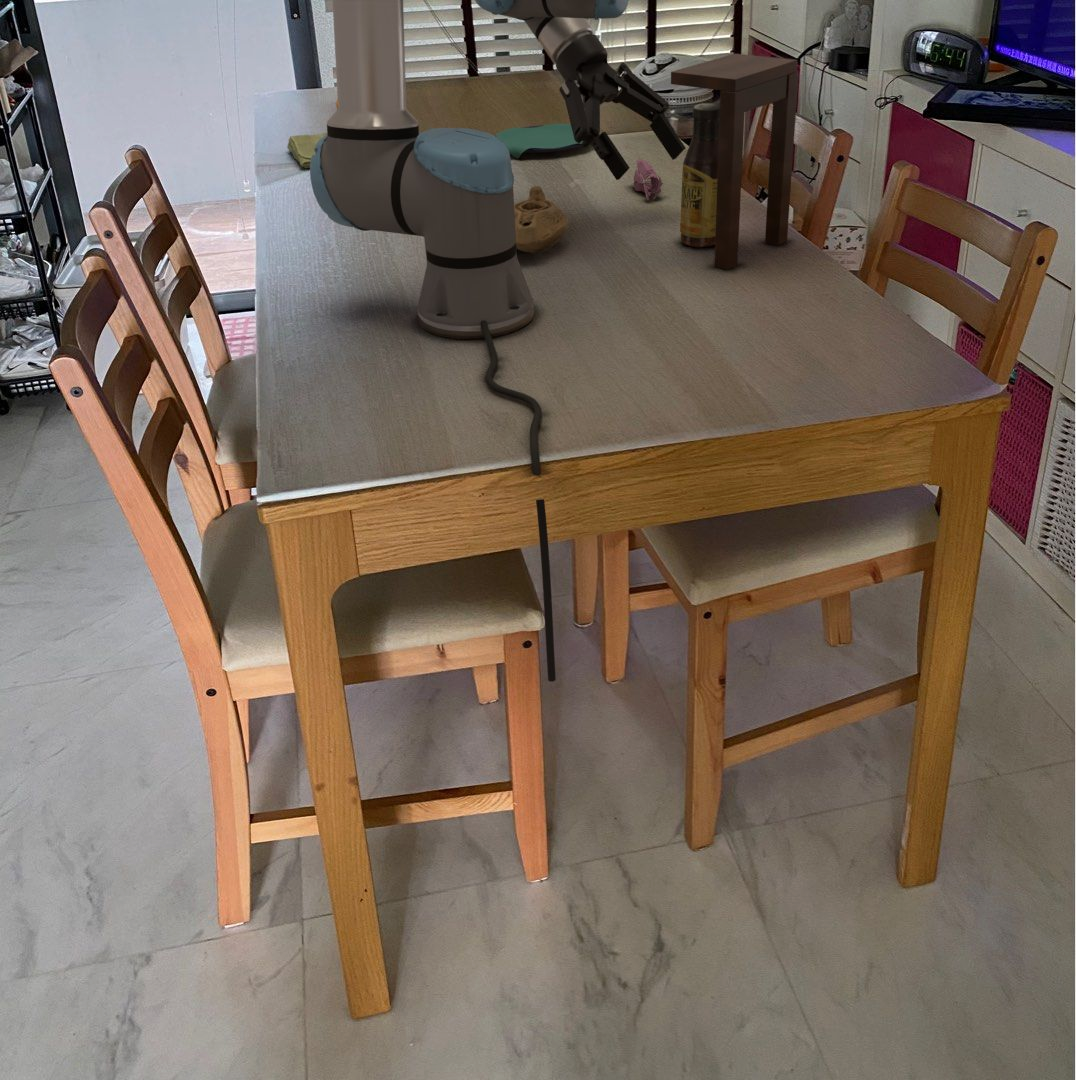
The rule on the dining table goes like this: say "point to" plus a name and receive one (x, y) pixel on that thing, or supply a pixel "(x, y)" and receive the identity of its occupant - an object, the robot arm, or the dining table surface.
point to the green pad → (539, 139)
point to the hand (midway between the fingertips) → (652, 164)
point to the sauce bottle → (701, 179)
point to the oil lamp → (538, 222)
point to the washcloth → (304, 147)
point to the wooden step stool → (742, 90)
